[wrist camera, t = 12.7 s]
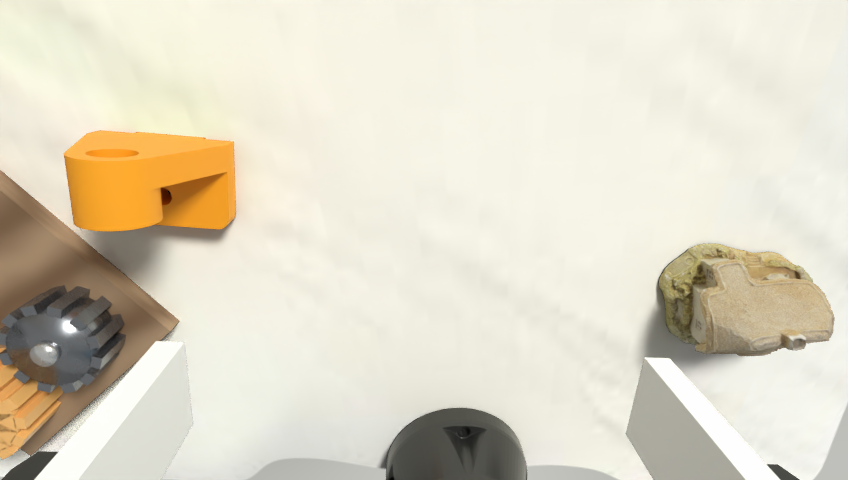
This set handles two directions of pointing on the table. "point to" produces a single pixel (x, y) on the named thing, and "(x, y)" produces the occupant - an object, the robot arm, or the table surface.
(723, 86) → the table surface
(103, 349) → the gear
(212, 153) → the bracket
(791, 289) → the ceramic model
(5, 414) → the orange gear
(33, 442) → the gear board
